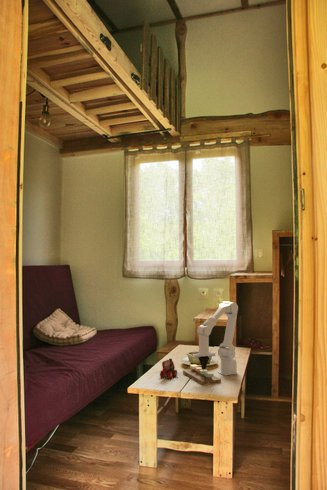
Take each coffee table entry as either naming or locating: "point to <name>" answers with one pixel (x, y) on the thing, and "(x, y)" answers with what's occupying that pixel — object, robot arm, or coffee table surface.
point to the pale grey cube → (208, 375)
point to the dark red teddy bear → (168, 369)
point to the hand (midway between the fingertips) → (203, 369)
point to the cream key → (193, 367)
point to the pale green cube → (203, 372)
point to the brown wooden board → (201, 378)
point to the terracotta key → (198, 370)
